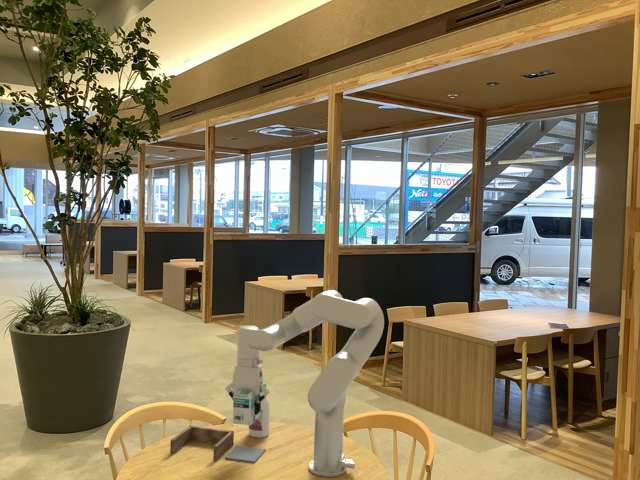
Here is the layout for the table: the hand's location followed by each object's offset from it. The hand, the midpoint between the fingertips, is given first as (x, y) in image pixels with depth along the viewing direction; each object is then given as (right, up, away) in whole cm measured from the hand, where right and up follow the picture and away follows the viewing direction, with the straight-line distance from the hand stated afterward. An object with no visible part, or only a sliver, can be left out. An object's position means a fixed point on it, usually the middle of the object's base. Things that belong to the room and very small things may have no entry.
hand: (246, 411), depth 204 cm
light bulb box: (0, -3, 0) cm, 3 cm away
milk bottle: (+2, -15, +20) cm, 25 cm away
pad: (-1, -15, +1) cm, 15 cm away
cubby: (-16, -15, +4) cm, 22 cm away
